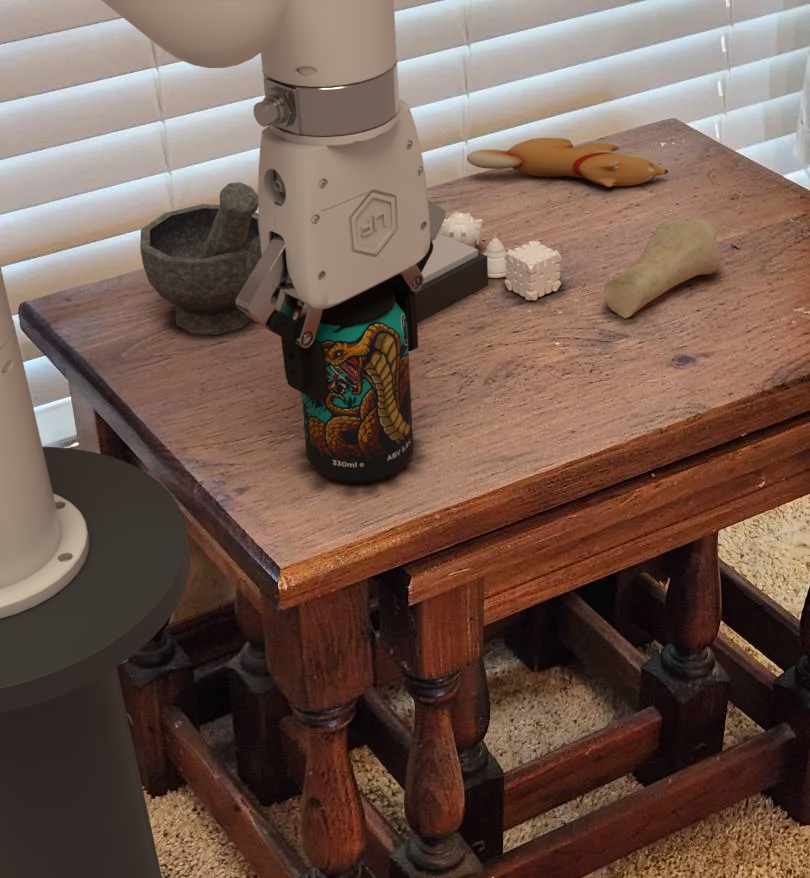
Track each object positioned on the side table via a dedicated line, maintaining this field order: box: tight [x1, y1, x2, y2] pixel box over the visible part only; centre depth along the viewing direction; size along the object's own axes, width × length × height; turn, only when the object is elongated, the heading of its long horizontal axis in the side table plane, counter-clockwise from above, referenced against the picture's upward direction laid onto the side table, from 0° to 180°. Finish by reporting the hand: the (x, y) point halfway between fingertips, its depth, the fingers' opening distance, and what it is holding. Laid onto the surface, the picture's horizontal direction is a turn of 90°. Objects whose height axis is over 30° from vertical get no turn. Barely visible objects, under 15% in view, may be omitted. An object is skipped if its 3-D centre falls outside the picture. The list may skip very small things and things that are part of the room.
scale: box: [273, 232, 489, 323], centre depth 120 cm, size 12×12×3 cm
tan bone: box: [602, 217, 724, 319], centre depth 117 cm, size 11×6×5 cm, turn 150°
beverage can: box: [295, 282, 414, 486], centre depth 99 cm, size 7×7×12 cm
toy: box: [466, 137, 669, 188], centre depth 134 cm, size 3×17×5 cm
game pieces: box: [438, 212, 562, 301], centre depth 121 cm, size 12×3×3 cm, turn 37°
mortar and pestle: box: [139, 181, 262, 336], centre depth 115 cm, size 11×9×12 cm
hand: (353, 365), depth 98 cm, fingers closed on beverage can, 7 cm apart
